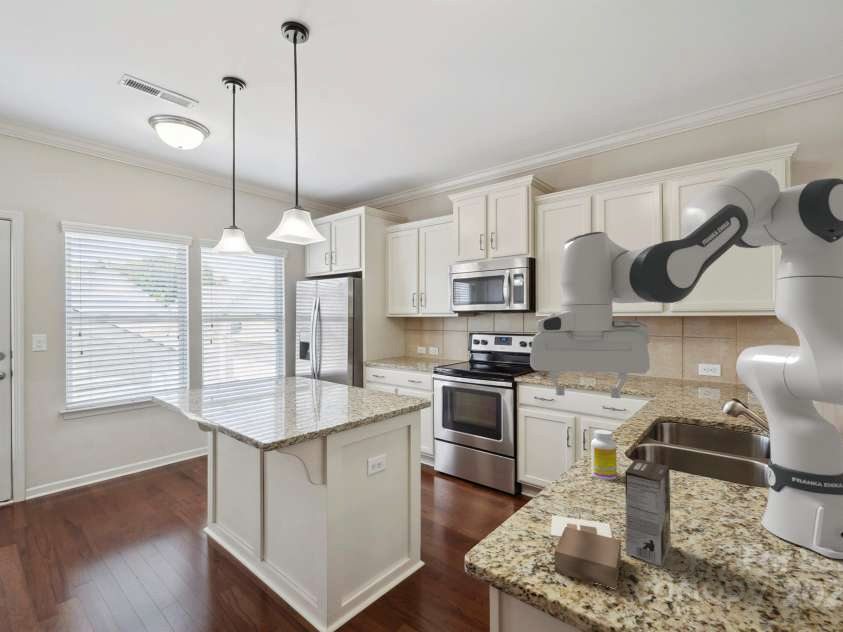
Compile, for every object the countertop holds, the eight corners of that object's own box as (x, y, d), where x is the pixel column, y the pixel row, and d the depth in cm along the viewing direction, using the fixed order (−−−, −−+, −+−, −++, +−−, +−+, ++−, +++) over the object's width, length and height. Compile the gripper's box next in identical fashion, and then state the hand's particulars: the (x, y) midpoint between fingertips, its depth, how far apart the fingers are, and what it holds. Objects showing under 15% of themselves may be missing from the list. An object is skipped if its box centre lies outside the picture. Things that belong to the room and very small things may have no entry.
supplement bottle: (620, 481, 114) (620, 435, 114) (596, 481, 114) (596, 435, 114) (610, 472, 121) (609, 428, 121) (587, 472, 121) (587, 428, 121)
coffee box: (635, 535, 86) (635, 458, 86) (671, 546, 82) (671, 465, 82) (624, 555, 79) (623, 470, 79) (662, 568, 75) (662, 478, 75)
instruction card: (609, 524, 90) (609, 523, 90) (613, 546, 82) (613, 544, 82) (552, 516, 94) (552, 514, 94) (550, 535, 86) (550, 534, 86)
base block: (620, 561, 77) (620, 540, 77) (616, 592, 69) (616, 567, 69) (565, 546, 82) (565, 526, 82) (554, 573, 74) (554, 551, 74)
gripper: (646, 320, 75) (647, 396, 75) (531, 321, 82) (532, 390, 82) (653, 320, 69) (654, 403, 69) (528, 321, 76) (529, 396, 76)
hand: (587, 396), depth 76 cm, fingers open, 8 cm apart
